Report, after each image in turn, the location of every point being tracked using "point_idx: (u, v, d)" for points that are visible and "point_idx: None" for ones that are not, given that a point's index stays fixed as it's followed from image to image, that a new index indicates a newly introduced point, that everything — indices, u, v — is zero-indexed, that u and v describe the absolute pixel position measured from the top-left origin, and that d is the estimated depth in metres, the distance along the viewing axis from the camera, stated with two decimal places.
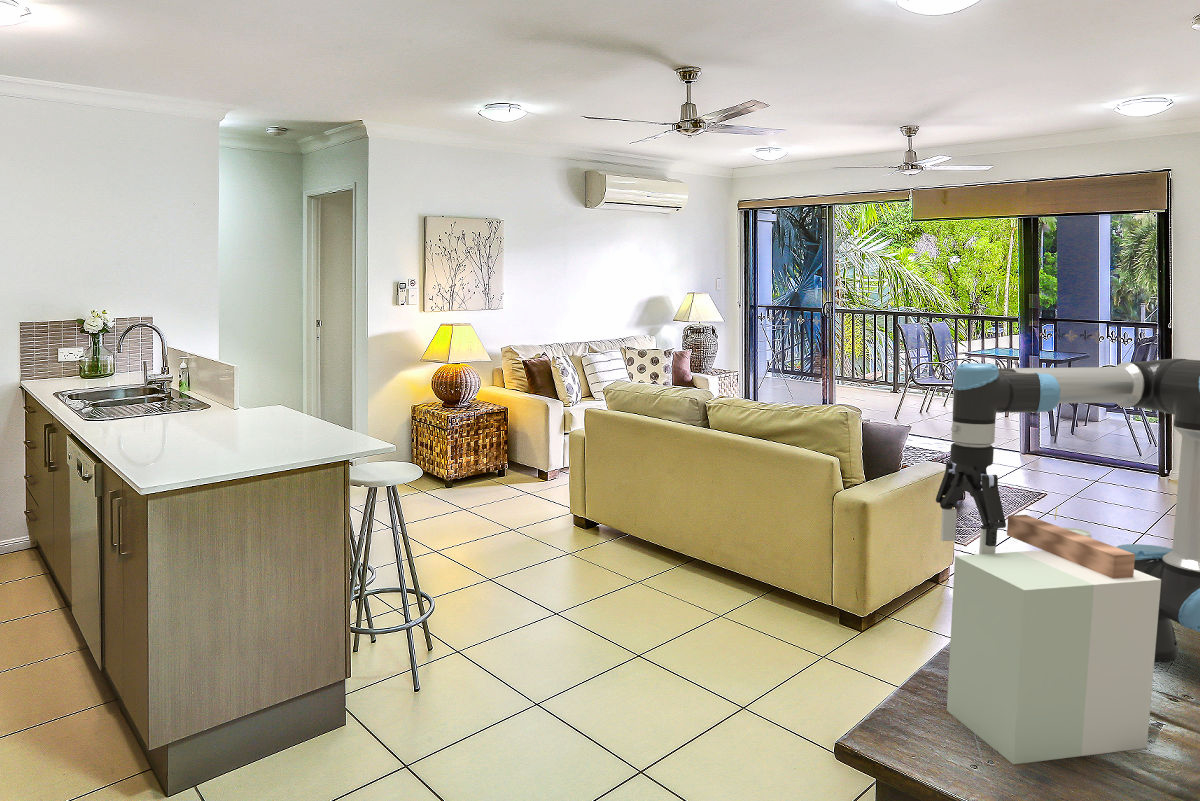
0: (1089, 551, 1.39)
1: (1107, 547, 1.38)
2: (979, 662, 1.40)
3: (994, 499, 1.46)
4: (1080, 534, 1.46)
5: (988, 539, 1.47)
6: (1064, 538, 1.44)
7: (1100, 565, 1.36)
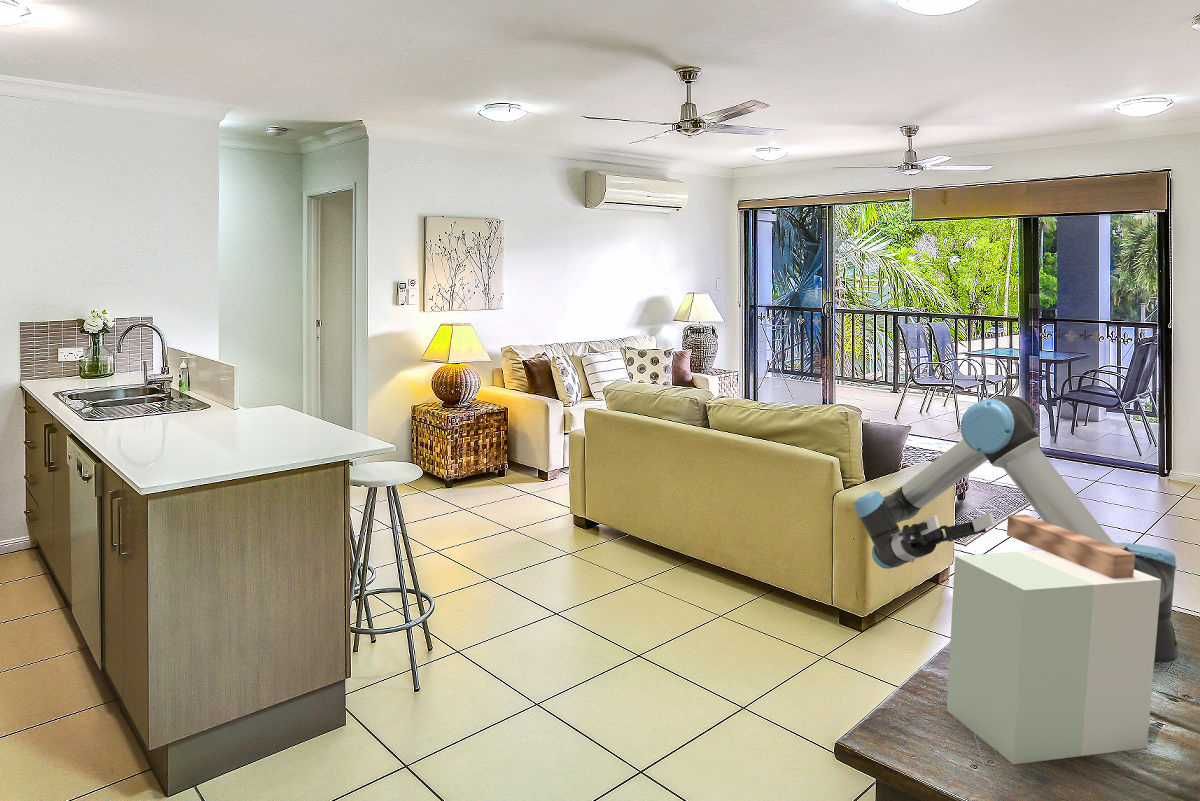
0: (1089, 551, 1.39)
1: (1107, 547, 1.38)
2: (979, 662, 1.40)
3: (903, 534, 1.85)
4: (1080, 534, 1.46)
5: (921, 530, 1.78)
6: (1064, 538, 1.44)
7: (1100, 565, 1.36)
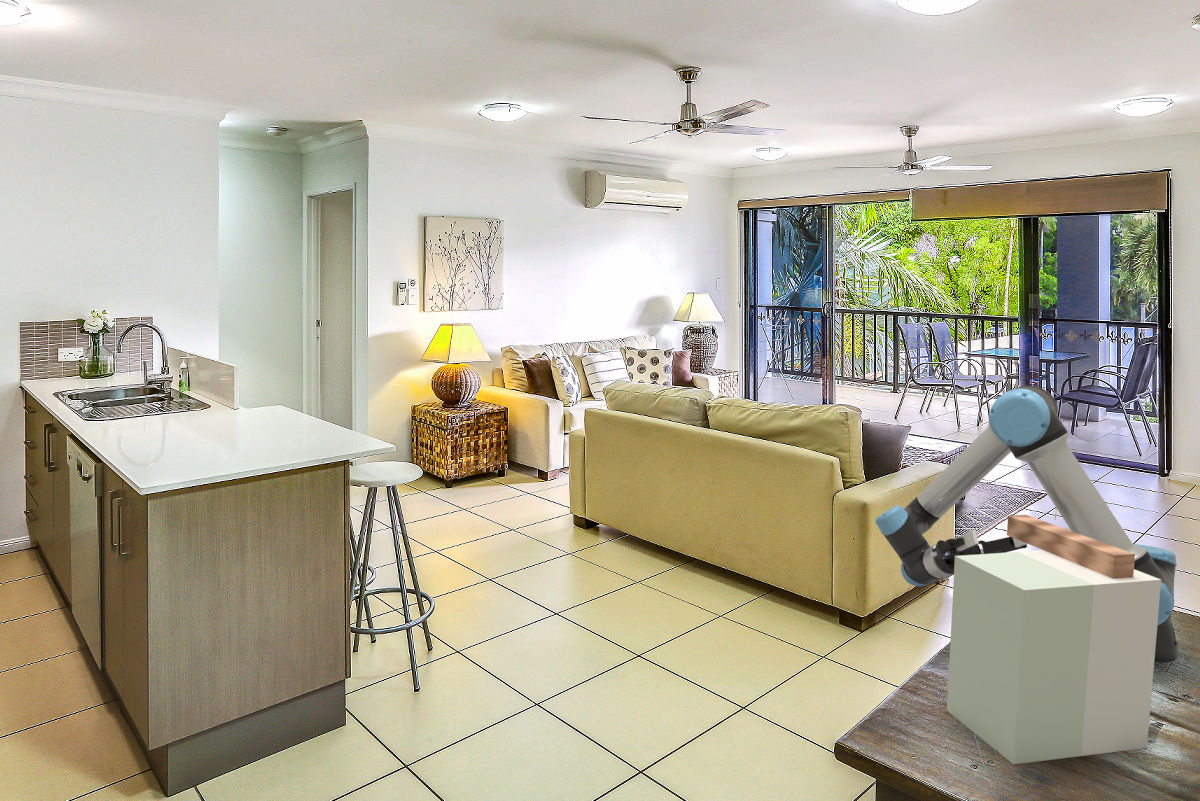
0: (1089, 551, 1.39)
1: (1107, 547, 1.38)
2: (979, 662, 1.40)
3: (937, 550, 1.71)
4: (1080, 534, 1.46)
5: (957, 546, 1.64)
6: (1064, 538, 1.44)
7: (1100, 565, 1.36)
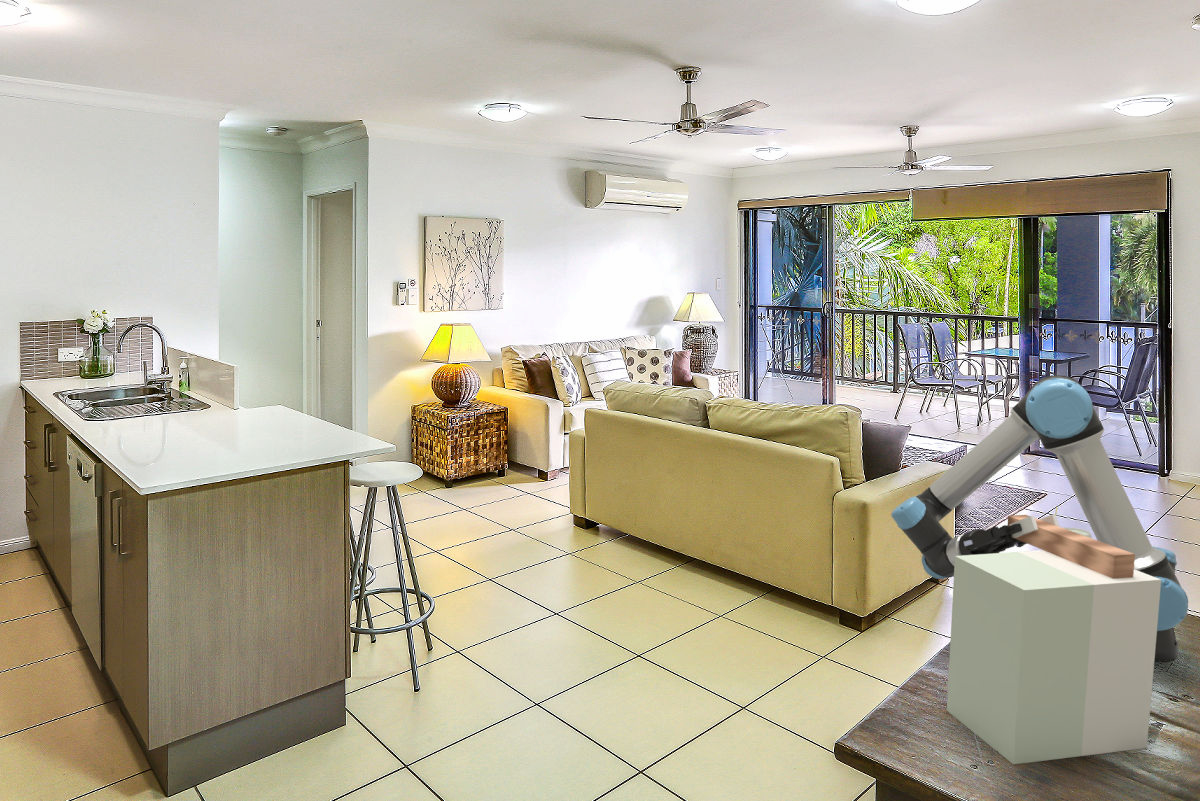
0: (1089, 551, 1.39)
1: (1107, 547, 1.38)
2: (979, 662, 1.40)
3: (979, 538, 1.62)
4: (1080, 534, 1.46)
5: (1014, 532, 1.55)
6: (1063, 538, 1.44)
7: (1100, 565, 1.36)
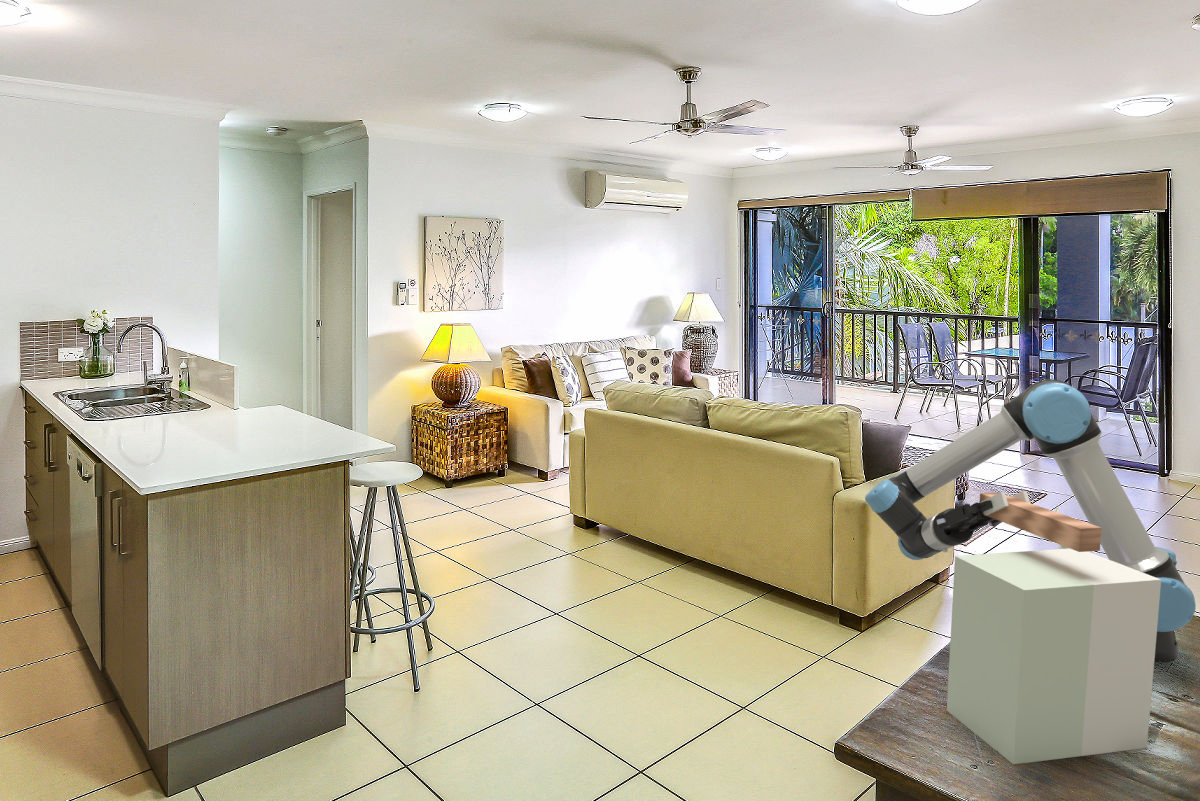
0: (1057, 525, 1.38)
1: (1074, 521, 1.37)
2: (979, 662, 1.40)
3: (951, 516, 1.61)
4: (1049, 510, 1.45)
5: (985, 509, 1.54)
6: (1032, 514, 1.43)
7: (1067, 539, 1.35)
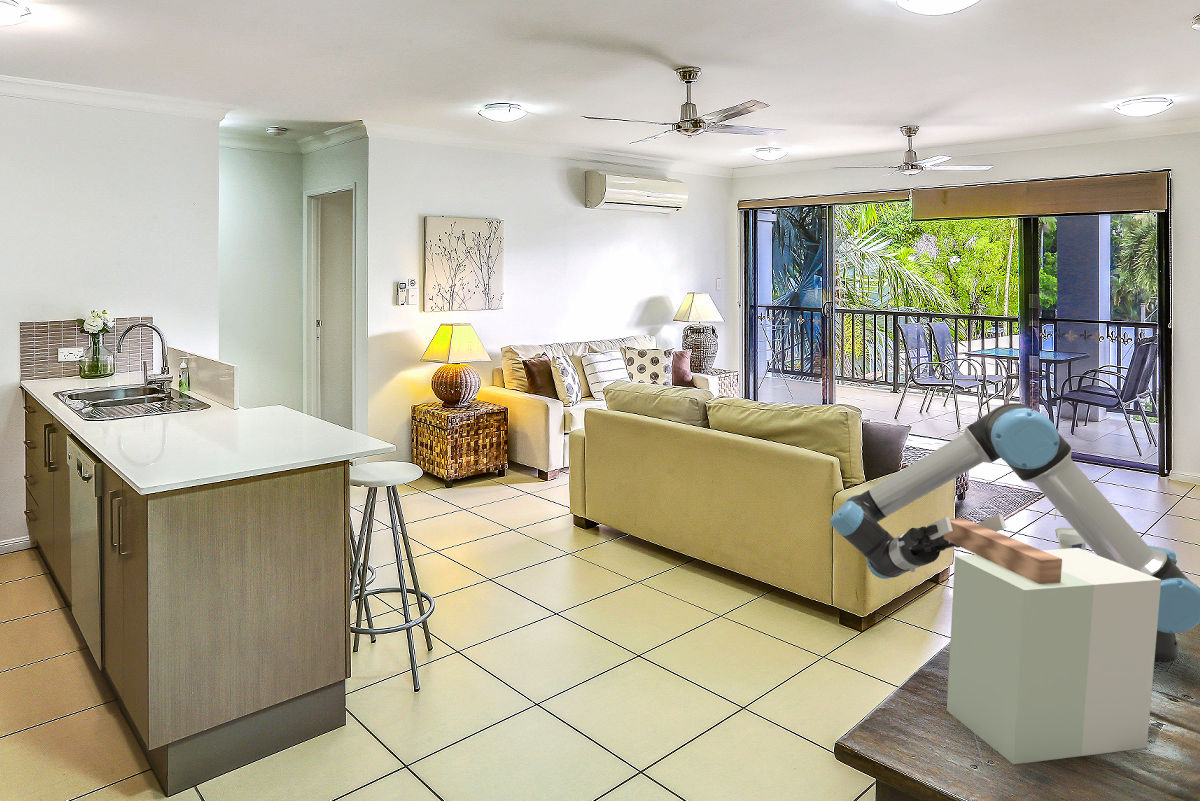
0: (1018, 555, 1.36)
1: (1036, 552, 1.35)
2: (979, 662, 1.40)
3: (906, 539, 1.60)
4: None
5: (930, 533, 1.53)
6: (995, 543, 1.42)
7: (1028, 570, 1.34)
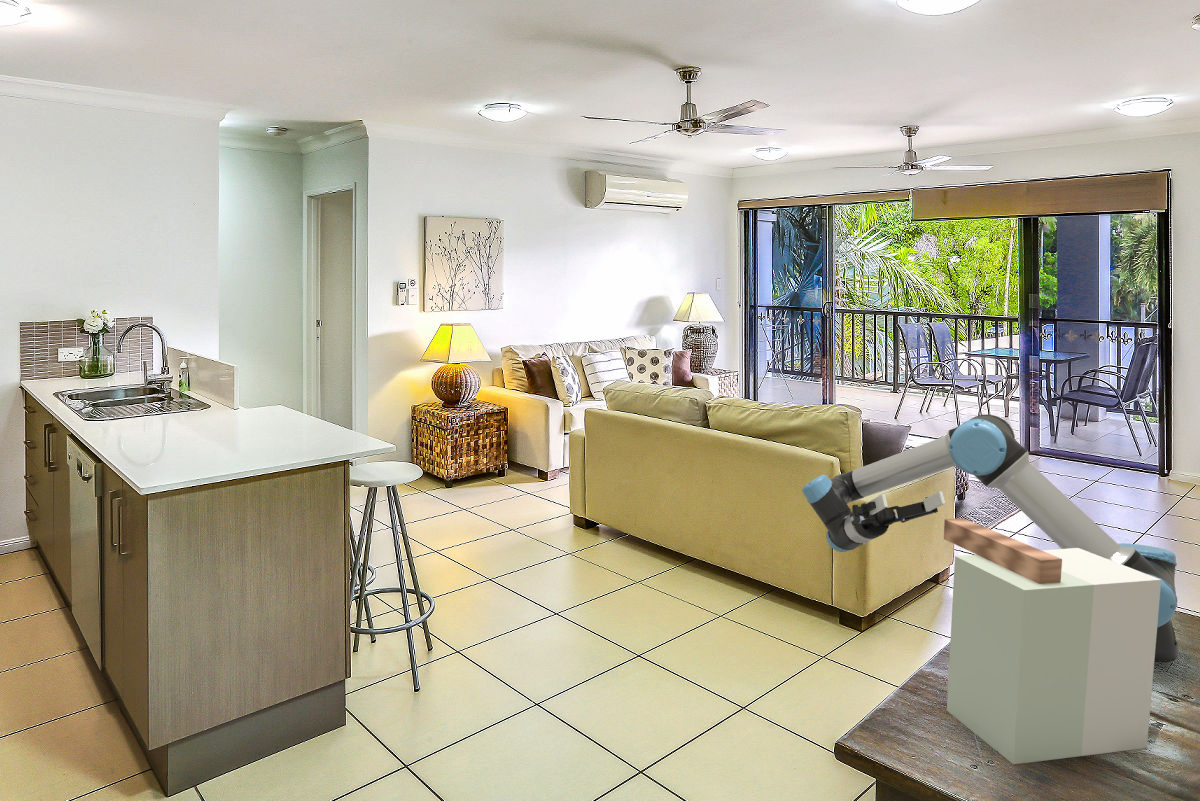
0: (1018, 555, 1.36)
1: (1036, 552, 1.35)
2: (979, 662, 1.40)
3: (853, 515, 1.80)
4: None
5: (869, 509, 1.73)
6: (995, 543, 1.42)
7: (1028, 570, 1.34)
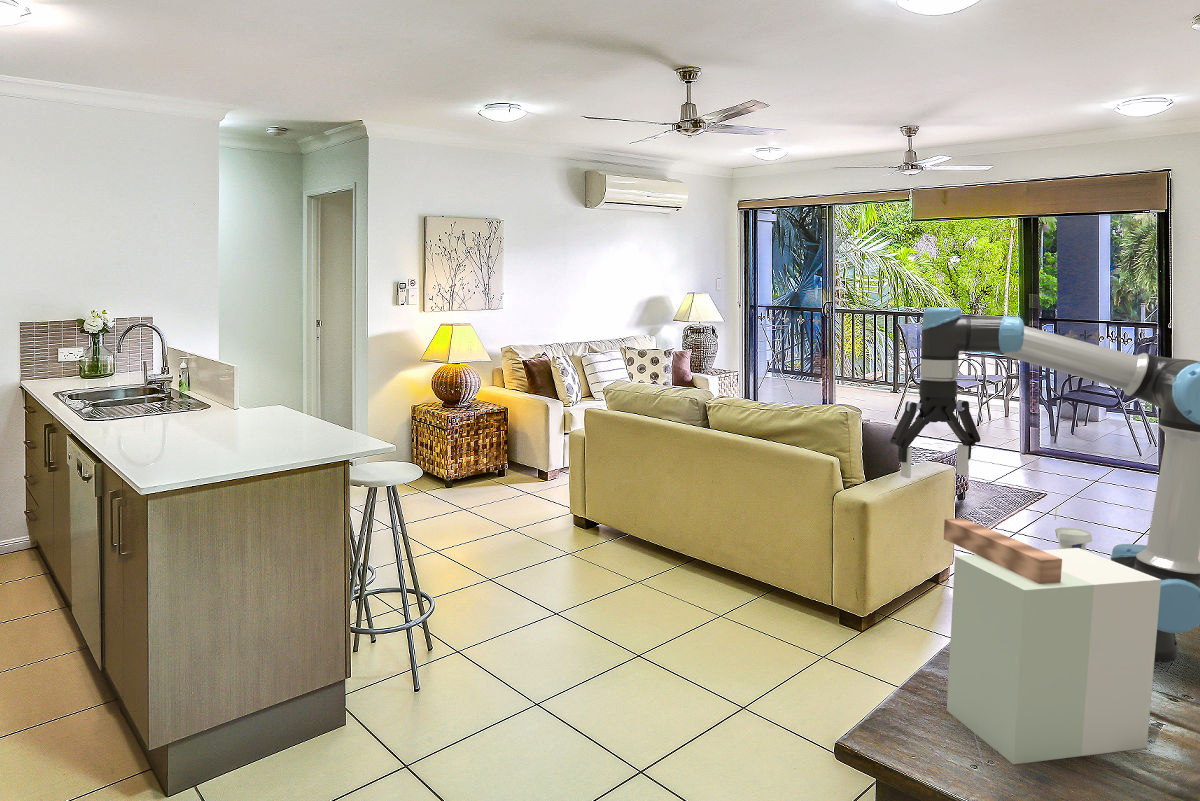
0: (1018, 555, 1.36)
1: (1036, 552, 1.35)
2: (979, 662, 1.40)
3: (903, 421, 1.71)
4: None
5: None
6: (995, 543, 1.42)
7: (1028, 570, 1.34)
